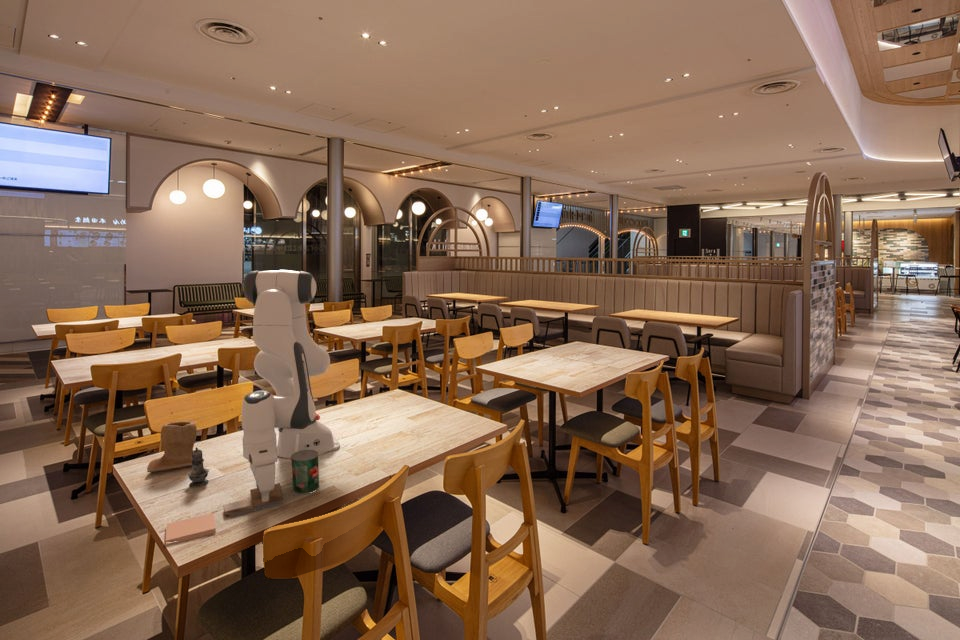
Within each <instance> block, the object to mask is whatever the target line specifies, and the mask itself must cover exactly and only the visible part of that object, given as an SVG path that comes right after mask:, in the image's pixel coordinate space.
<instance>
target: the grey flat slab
mask: <svg viewBox="0 0 960 640" xmlns="http://www.w3.org/2000/svg"><path fill="white" fill-rule="evenodd" d="M280 504H281V505H284V502H283V499H282V500H279V501H275V502H271V503H267V504H263V505H258V506H254V507H253V508H252V509H248V510H244V511H239V512H235V513H231V514H228V516H229V518H233V517H236V516H240V515H244V514H249V513H253V512H256V511H255V510H257V511H260V509H261V510H264V509H263V508H265V509H268V507H269V508H272V506H273V507H277V506H280ZM276 505H277V506H276ZM252 511H253V512H252Z"/></svg>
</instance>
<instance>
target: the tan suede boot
mask: <svg viewBox="0 0 960 640" xmlns="http://www.w3.org/2000/svg"><path fill="white" fill-rule="evenodd" d="M197 434H198V433H197V424H196V423H195V422H194V421H177V422H176V421H175V422H168V423H164V424H163V425H162V427H161V430H160V439H161V443H162V448H163V451H164V454H163V455H162V456H161V457H159V458H156V459H155V458H154V459H153V460H151V461H150V462H148V465H147V467H146V468H147V469H146V470H147V473H154V472H162V471H167V470H168V471H169V470H174V469H179V468H180V469H181V468H185V467H189V466H192V463H191V461H192V452H193V451H194V446H195V443H196V439H197Z"/></svg>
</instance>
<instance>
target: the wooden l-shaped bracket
mask: <svg viewBox="0 0 960 640" xmlns="http://www.w3.org/2000/svg"><path fill="white" fill-rule="evenodd" d="M282 491H283V489H282V485H281V484H280V483H275V487H274V489H273V490H272V491H270V492H269V500H268V501H266V502H262V499H261V492H260V490H259V488H257V487H256V488H253V489H250V491H249V493H250V498H246V499H243V500H238V501H234V502H229V503H225V504H223V505H222V506H223V511H224V515H225V516H226V515H229V514H231V513H235V512H239V511H244V510H248V509H252V508H253V507H254V506H258V505H263V504H267V503H271V502H275V501H279V500H282V501H283V496H282Z"/></svg>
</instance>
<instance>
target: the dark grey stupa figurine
mask: <svg viewBox="0 0 960 640" xmlns="http://www.w3.org/2000/svg"><path fill="white" fill-rule="evenodd" d="M204 461H205V459H204V458H203V450H201V449H199V448H198V447H195V449H193V452H192V461H191V463H192V465H191V471H189V472H188V473H187V477H188V479H189V481H191V482H190V483H189V485H188V486H189V487H190V488H200V487H203V486H205V485H207V484H208V483H209V480H208V479H206V478H208V475H209V472H210V470H209V469H207V468H205V467H204Z"/></svg>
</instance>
